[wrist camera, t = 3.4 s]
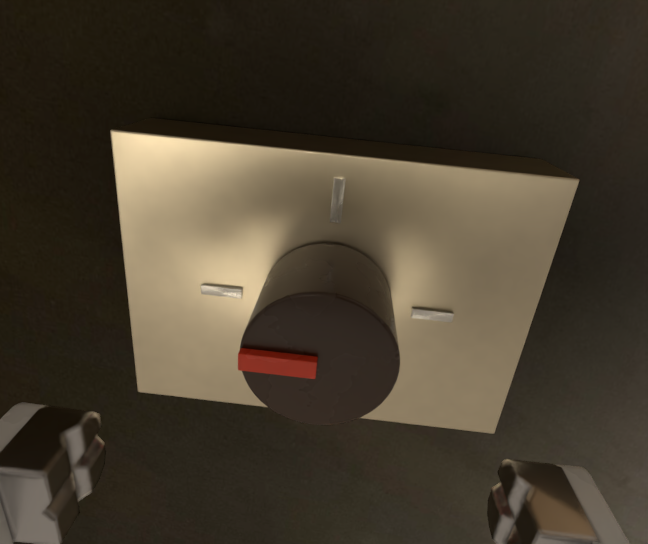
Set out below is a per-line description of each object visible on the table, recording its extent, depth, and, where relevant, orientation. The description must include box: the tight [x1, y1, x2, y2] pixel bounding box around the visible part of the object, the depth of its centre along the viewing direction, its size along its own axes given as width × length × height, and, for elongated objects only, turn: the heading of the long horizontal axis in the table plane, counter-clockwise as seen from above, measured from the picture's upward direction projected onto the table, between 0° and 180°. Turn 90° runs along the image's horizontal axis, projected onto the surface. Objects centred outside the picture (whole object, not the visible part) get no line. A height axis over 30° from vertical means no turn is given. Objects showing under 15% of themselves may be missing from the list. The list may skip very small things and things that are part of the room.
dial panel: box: [110, 118, 579, 434], centre depth 17 cm, size 14×10×3 cm
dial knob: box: [238, 243, 400, 425], centre depth 14 cm, size 4×4×4 cm
